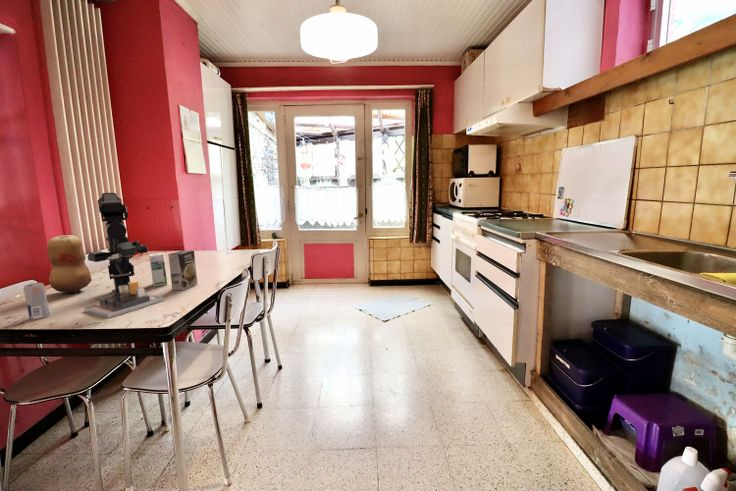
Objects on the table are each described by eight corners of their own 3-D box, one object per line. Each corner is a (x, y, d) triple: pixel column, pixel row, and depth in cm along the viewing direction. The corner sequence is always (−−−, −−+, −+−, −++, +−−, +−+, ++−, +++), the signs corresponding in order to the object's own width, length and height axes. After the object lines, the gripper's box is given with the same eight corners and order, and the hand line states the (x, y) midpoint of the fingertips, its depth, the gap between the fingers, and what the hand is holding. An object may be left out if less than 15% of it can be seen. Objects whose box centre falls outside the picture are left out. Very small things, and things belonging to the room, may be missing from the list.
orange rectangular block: (129, 293, 137) (127, 282, 136) (136, 292, 139) (134, 280, 138) (132, 294, 136) (131, 283, 135) (139, 292, 138) (138, 281, 137)
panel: (84, 311, 130) (81, 294, 129) (139, 295, 147) (137, 280, 146) (108, 318, 123) (105, 300, 121) (163, 300, 140) (161, 285, 139)
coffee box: (184, 290, 153) (180, 254, 150) (171, 289, 154) (167, 254, 151) (198, 284, 162) (194, 250, 159) (186, 283, 163) (182, 249, 160)
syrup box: (153, 286, 159) (148, 255, 157) (153, 283, 164) (149, 253, 162) (167, 284, 162) (163, 254, 159) (167, 281, 167) (164, 252, 164)
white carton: (38, 314, 127) (31, 282, 125) (54, 313, 128) (48, 282, 125) (25, 320, 122) (18, 287, 120) (41, 319, 122) (35, 286, 120)
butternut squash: (51, 299, 144) (40, 239, 139) (52, 292, 154) (41, 236, 149) (94, 292, 153) (84, 235, 148) (92, 285, 163) (83, 232, 158)
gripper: (99, 240, 122) (106, 283, 125) (153, 232, 138) (158, 271, 141) (83, 238, 127) (90, 279, 130) (137, 230, 143) (142, 267, 146)
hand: (122, 274), depth 137 cm, fingers closed
